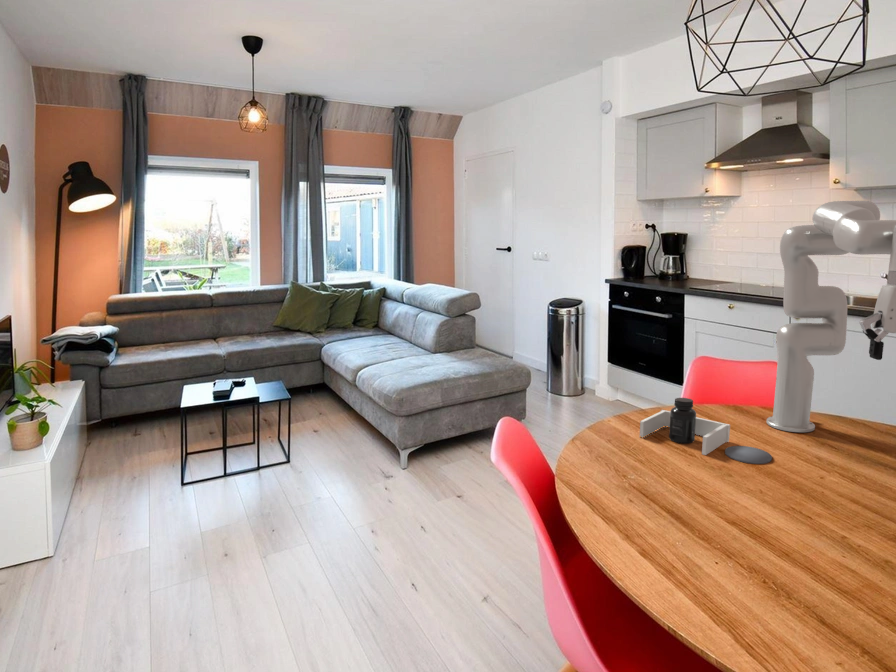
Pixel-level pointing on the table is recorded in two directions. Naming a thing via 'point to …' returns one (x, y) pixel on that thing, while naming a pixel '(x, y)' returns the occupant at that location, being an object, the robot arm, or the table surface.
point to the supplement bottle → (682, 421)
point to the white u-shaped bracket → (708, 429)
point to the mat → (748, 454)
